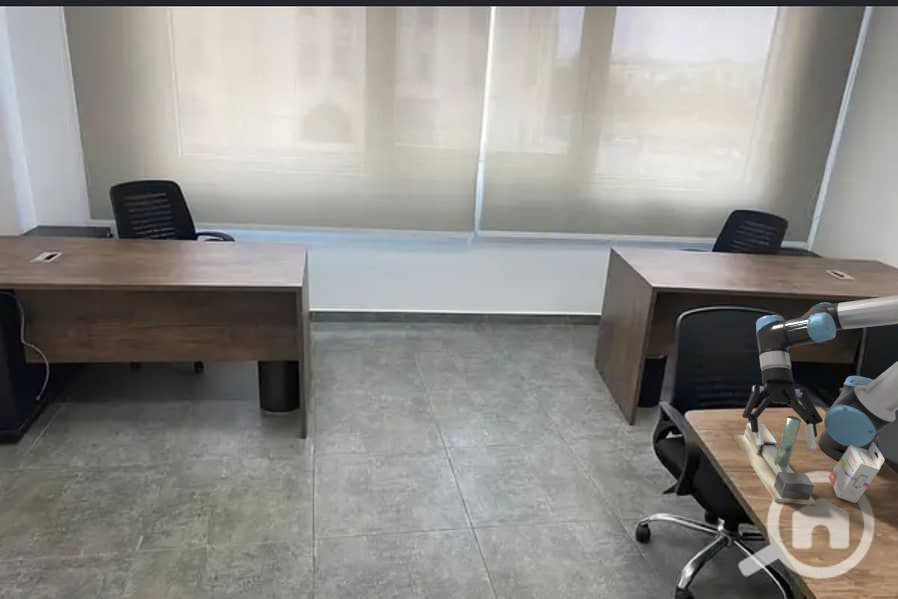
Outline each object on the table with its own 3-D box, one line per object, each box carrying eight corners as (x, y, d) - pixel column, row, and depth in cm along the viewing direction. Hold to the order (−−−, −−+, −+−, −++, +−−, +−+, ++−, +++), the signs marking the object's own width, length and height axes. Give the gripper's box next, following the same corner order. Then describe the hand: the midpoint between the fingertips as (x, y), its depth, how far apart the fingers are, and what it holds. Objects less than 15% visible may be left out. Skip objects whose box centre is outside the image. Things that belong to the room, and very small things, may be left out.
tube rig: (767, 440, 189) (771, 424, 187) (814, 505, 162) (820, 486, 160) (733, 437, 190) (737, 420, 188) (774, 501, 162) (780, 483, 160)
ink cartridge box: (826, 476, 172) (855, 434, 166) (845, 483, 172) (874, 440, 165) (837, 497, 164) (867, 454, 158) (856, 504, 164) (887, 460, 158)
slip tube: (768, 449, 181) (783, 399, 176) (799, 493, 163) (817, 439, 157) (757, 448, 181) (771, 398, 176) (787, 491, 163) (804, 437, 157)
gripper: (814, 378, 180) (826, 453, 171) (725, 370, 181) (732, 445, 172) (829, 369, 173) (842, 448, 164) (736, 362, 174) (744, 440, 165)
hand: (786, 447), depth 168 cm, fingers open, 13 cm apart
